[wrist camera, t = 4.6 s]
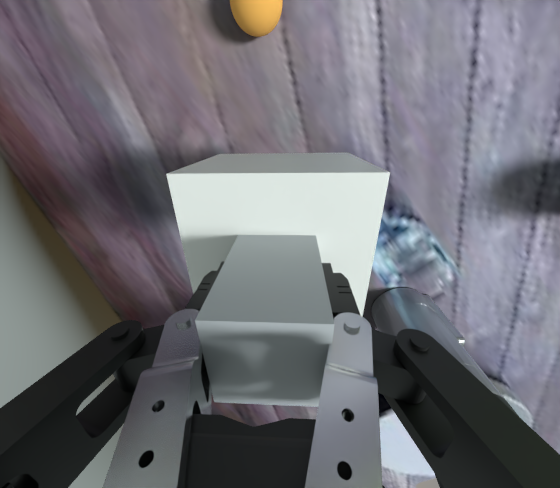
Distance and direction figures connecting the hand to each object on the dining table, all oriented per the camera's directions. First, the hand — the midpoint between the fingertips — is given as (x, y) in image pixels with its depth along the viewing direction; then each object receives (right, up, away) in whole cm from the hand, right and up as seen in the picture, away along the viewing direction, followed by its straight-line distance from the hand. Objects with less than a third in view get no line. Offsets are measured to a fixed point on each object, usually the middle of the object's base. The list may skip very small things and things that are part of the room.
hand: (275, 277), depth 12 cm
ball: (-2, +25, +10) cm, 27 cm away
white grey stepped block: (+1, +4, +9) cm, 10 cm away
